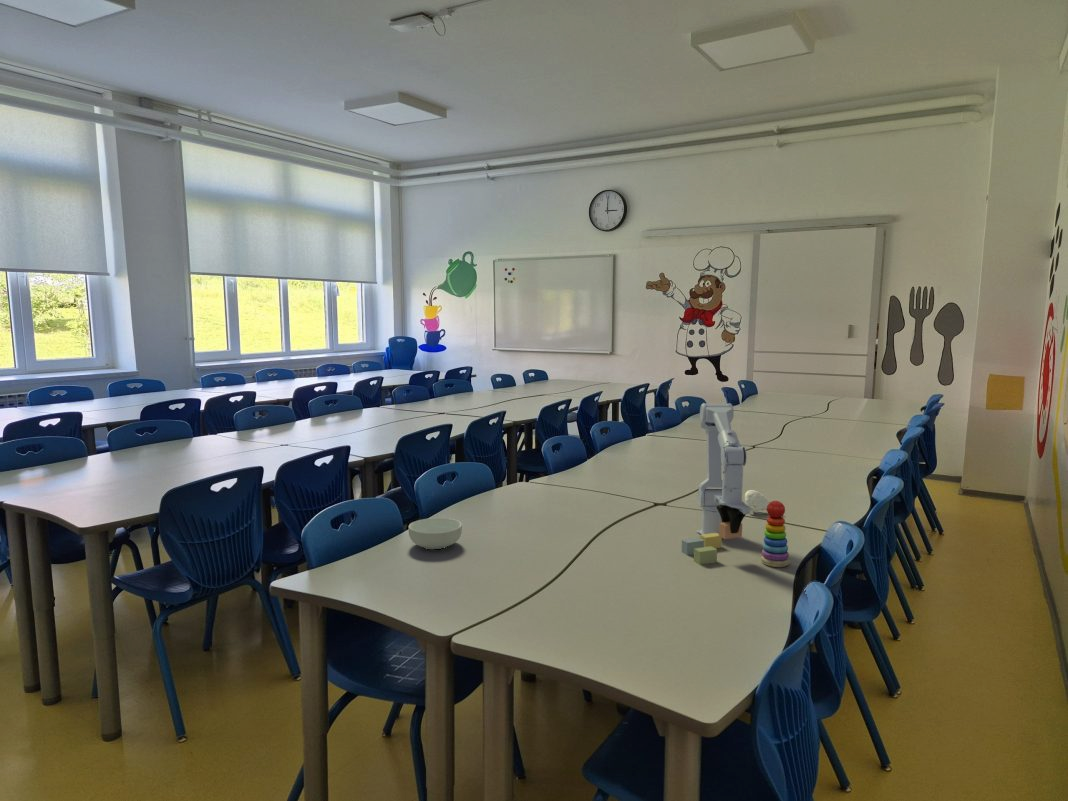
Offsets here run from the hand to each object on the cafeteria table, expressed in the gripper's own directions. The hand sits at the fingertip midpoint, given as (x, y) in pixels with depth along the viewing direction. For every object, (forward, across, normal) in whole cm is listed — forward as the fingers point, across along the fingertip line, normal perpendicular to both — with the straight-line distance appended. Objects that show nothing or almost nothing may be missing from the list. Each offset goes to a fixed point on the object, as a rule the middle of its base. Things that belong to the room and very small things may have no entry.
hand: (730, 530), depth 198 cm
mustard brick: (+9, -11, +1) cm, 14 cm away
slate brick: (+9, -9, -7) cm, 14 cm away
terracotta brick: (+2, 0, 0) cm, 2 cm away
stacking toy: (+9, +8, +10) cm, 16 cm away
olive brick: (+9, -1, -8) cm, 12 cm away
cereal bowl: (+9, -43, -80) cm, 91 cm away
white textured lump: (+9, -34, +40) cm, 53 cm away
